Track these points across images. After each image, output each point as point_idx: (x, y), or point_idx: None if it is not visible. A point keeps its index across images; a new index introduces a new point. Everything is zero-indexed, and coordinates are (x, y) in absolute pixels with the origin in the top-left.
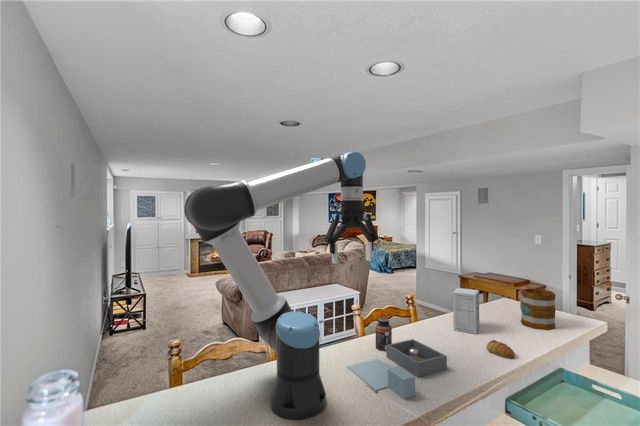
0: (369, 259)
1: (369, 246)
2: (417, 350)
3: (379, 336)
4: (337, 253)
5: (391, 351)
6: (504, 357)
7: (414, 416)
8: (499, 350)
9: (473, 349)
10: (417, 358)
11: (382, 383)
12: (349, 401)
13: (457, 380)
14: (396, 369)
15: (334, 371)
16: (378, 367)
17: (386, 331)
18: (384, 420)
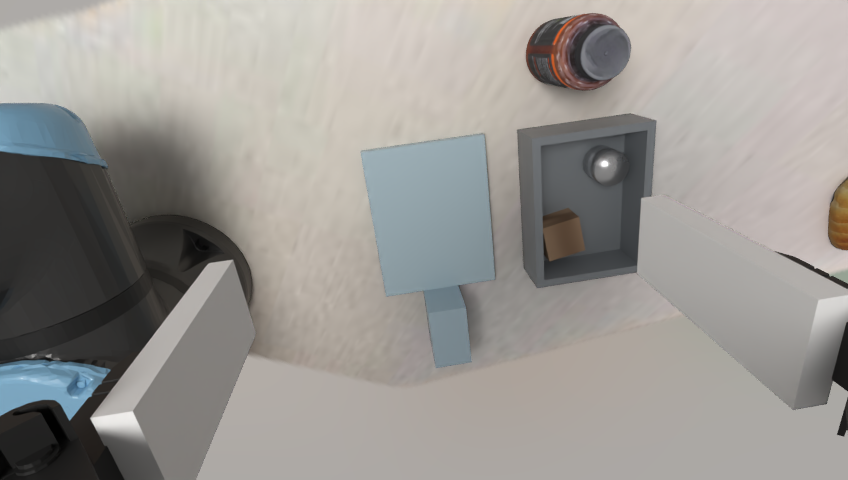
0: (644, 269)
1: (744, 354)
2: (614, 181)
3: (547, 70)
4: (221, 409)
5: (528, 165)
6: (829, 235)
7: (421, 382)
8: (844, 227)
9: (815, 159)
10: (572, 232)
11: (417, 275)
12: (309, 305)
13: (608, 297)
14: (449, 321)
15: (317, 154)
16: (453, 193)
17: (577, 89)
18: (356, 378)
